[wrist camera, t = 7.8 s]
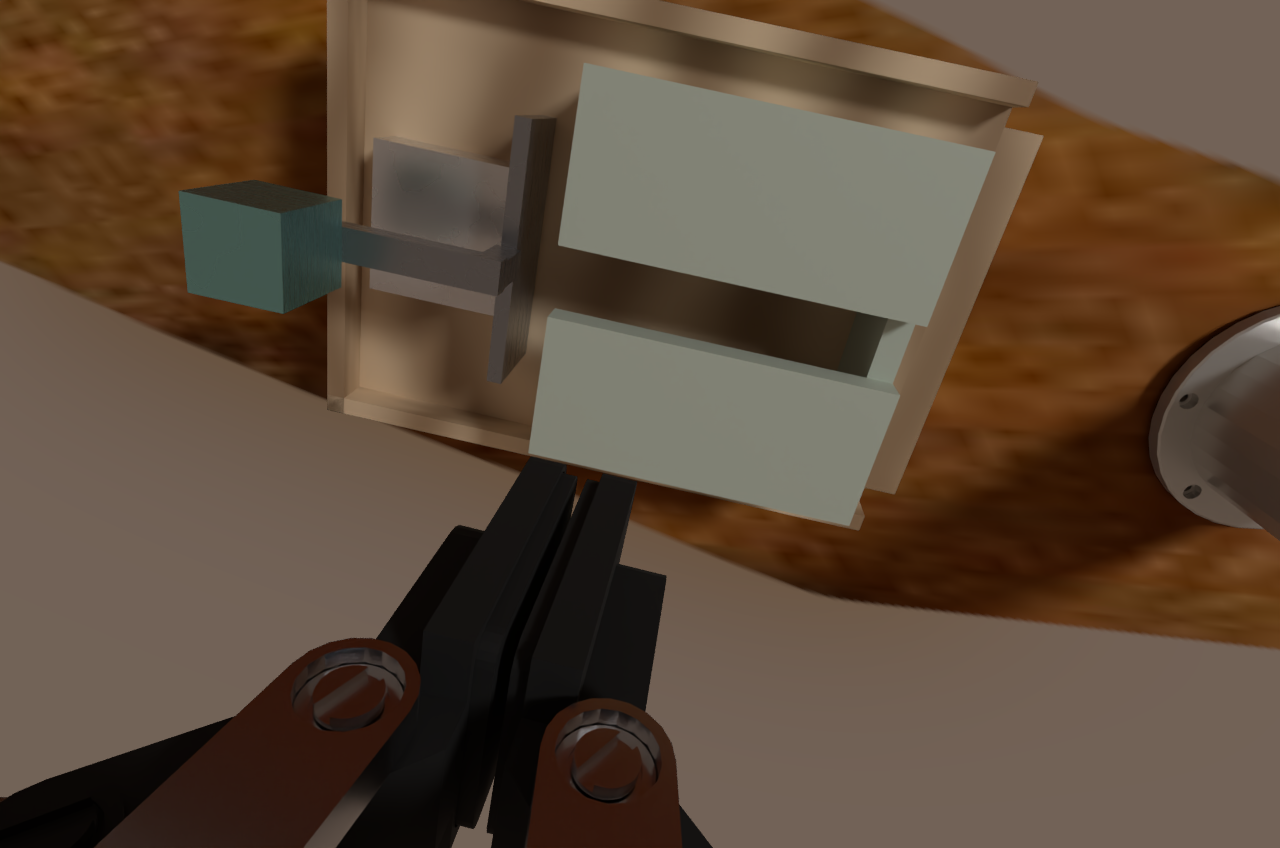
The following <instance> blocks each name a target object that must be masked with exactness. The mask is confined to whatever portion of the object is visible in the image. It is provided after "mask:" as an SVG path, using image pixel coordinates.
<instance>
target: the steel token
mask: <svg viewBox="0 0 1280 848" xmlns="http://www.w3.org/2000/svg"><path fill="white" fill-rule="evenodd" d="M509 166H510V161H507V160H502V159H498V158H493V157H488V156H484V155H479V154H475V153H470V152H466V151H461V150H457V149H452V148H448V147H443V146H438V145H434V144H429V143H425V142H420V141H416V140H411V139H407V138H402V137H398V136H390V137H377V138H373V174H372V212H371V227H373V228H377V229H382V230H386V231H391V232H395V233H400V234H404V235H409V236H413V237H418V238H422V239H427V240H431V241H436V242H440V243H445V244H449V245H454V246H458V247H463V248H467V249H472V250H476V251H481V252H484V251H486V250H487V249H489V248H491V247H492V246H494V245H500V246H501V241H502V231H503V222H504V213H505V203H506V194H507V185H508V175H509ZM370 288H371V289H375V290H380V291H384V292H388V293H393V294H397V295H402V296H406V297H411V298H415V299H420V300H424V301H429V302H433V303H438V304H442V305H446V306H451V307H455V308H460V309H464V310H469V311H473V312H478V313H482V314H487V315H491V316H493V315H494V306H495V297H496V296H492V295H488V294H483V293H479V292H474V291H470V290H465V289H461V288H456V287H452V286H447V285H443V284H438V283H434V282H429V281H425V280H421V279H416V278H412V277H407V276H403V275H398V274H394V273H389V272H385V271H380V270H376V269H371V268H370Z"/></svg>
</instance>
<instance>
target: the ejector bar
mask: <svg viewBox="0 0 1280 848" xmlns="http://www.w3.org/2000/svg"><path fill="white" fill-rule="evenodd" d="M556 120H557V118H554V117H549V116H545V115H515V119H514V129H513V138H512V147H511V157H510V166H509V175H508V185H507V194H506V203H505V213H504V222H503V231H502V241H501V246H500V245H494V246H492V247H491V248H489V249H487V250H486V251H484V252H481V251H476V250H472V249H467V248H463V247H458V246H454V245H449V244H445V243H440V242H436V241H431V240H427V239H422V238H418V237H413V236H409V235H404V234H400V233H395V232H391V231H386V230H382V229H377V228H373V227H368V226H364V225H359V224H355V223H350V222H346V221H342V199H339V198H334V197H330V196H325V195H321V194H316V193H312V192H307V191H303V190H298V189H294V188H289V187H285V186H280V185H275V184H271V183H266V182H262V181H257V180H250V181H243V182H236V183H229V184H222V185H215V186H208V187H201V188H194V189H187V190H181V191H179V199H180V210H181V221H182V233H183V244H184V255H185V266H186V277H187V288H188V293H193V294H197V295H202V296H206V297H210V298H215V299H219V300H224V301H228V302H233V303H237V304H242V305H246V306H250V307H255V308H259V309H264V310H268V311H273V312H277V313H282V314H284V313H287V312H289V311H291V310H293V309H295V308H297V307H300V306H302V305H304V304H306V303H308V302H310V301H313V300H315V299H317V298H319V297H321V296H324V295H326V294H328V293H330V292H332V291H334V290H337V289H339V288H341V276H342V262H344V263H349V264H353V265H358V266H362V267H367V268H371V269H376V270H380V271H385V272H389V273H394V274H398V275H403V276H407V277H412V278H416V279H421V280H425V281H429V282H434V283H438V284H443V285H447V286H452V287H456V288H461V289H465V290H470V291H474V292H479V293H483V294H488V295H492V296H496V297H495V306H494V315H493V325H492V334H491V343H490V353H489V362H488V371H487V381H490V382H494V383H498V384H501V383H502V382H503V381H504V380H505V378H506V377H507V376H508V375H509V373H510V372H511V371H512V370H513V369H514V367H515V366H516V365H517V364H518V362H519V361H520V360H521V359H522V358H523V356H524V355H525V354H526V348H527V341H528V333H529V325H530V318H531V310H532V303H533V295H534V287H535V280H536V272H537V265H538V257H539V249H540V242H541V234H542V226H543V219H544V211H545V204H546V196H547V188H548V181H549V173H550V166H551V158H552V150H553V143H554V135H555V127H556Z"/></svg>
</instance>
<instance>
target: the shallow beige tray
mask: <svg viewBox="0 0 1280 848" xmlns="http://www.w3.org/2000/svg"><path fill="white" fill-rule="evenodd" d="M584 63H588V64H593V65H597V66H602V67H607V68H611V69H616V70H620V71H625V72H630V73H634V74H639V75H643V76H648V77H653V78H657V79H662V80H667V81H671V82H676V83H680V84H685V85H690V86H694V87H699V88H703V89H708V90H713V91H717V92H722V93H726V94H731V95H736V96H740V97H745V98H749V99H754V100H759V101H763V102H768V103H772V104H777V105H782V106H786V107H791V108H795V109H800V110H805V111H809V112H814V113H819V114H823V115H828V116H832V117H837V118H842V119H846V120H851V121H855V122H860V123H865V124H869V125H874V126H878V127H883V128H888V129H892V130H897V131H901V132H906V133H911V134H915V135H920V136H924V137H929V138H934V139H938V140H943V141H948V142H952V143H957V144H961V145H966V146H971V147H975V148H980V149H984V150H989V151H994V152H996V153H995V155H994V158H993V160H992V163H991V165H990V168H989V171H988V173H987V176H986V178H985V181H984V183H983V186H982V188H981V191H980V193H979V196H978V199H977V201H976V204H975V206H974V209H973V211H972V214H971V216H970V219H969V222H968V224H967V227H966V229H965V232H964V234H963V237H962V239H961V242H960V245H959V247H958V250H957V252H956V255H955V257H954V260H953V262H952V265H951V268H950V270H949V273H948V275H947V278H946V280H945V283H944V285H943V288H942V290H941V293H940V296H939V298H938V301H937V303H936V306H935V308H934V311H933V313H932V316H931V319H930V321H929V324H928V326H927V327H924V326H920V325H915V327H914V330H913V332H912V335H911V337H910V340H909V343H908V345H907V348H906V351H905V353H904V356H903V358H902V361H901V364H900V366H899V369H898V371H897V374H896V377H895V379H894V382H893V385H894V386H895V388H896V390H897V391H898V393H899V394H900V398H899V400H898V403H897V405H896V408H895V410H894V413H893V416H892V418H891V421H890V423H889V426H888V428H887V431H886V433H885V436H884V439H883V441H882V444H881V446H880V449H879V451H878V454H877V456H876V459H875V462H874V464H873V467H872V469H871V472H870V474H869V477H868V479H867V482H866V485H865V487H864V488H869V489H873V490H877V491H882V492H886V493H891V494H895V492H896V490H897V487H898V485H899V483H900V480H901V478H902V475H903V473H904V471H905V468H906V466H907V463H908V461H909V459H910V456H911V454H912V451H913V449H914V447H915V444H916V442H917V439H918V437H919V435H920V432H921V430H922V427H923V425H924V423H925V420H926V418H927V415H928V413H929V411H930V408H931V406H932V403H933V401H934V399H935V396H936V394H937V391H938V389H939V387H940V384H941V382H942V379H943V377H944V374H945V372H946V370H947V367H948V365H949V362H950V360H951V358H952V355H953V353H954V350H955V348H956V346H957V343H958V341H959V338H960V336H961V334H962V331H963V329H964V326H965V324H966V322H967V319H968V317H969V314H970V312H971V310H972V307H973V305H974V302H975V300H976V298H977V295H978V293H979V290H980V288H981V286H982V283H983V281H984V278H985V276H986V274H987V271H988V269H989V266H990V264H991V261H992V259H993V257H994V254H995V252H996V249H997V247H998V245H999V242H1000V240H1001V237H1002V235H1003V233H1004V230H1005V228H1006V225H1007V223H1008V221H1009V218H1010V216H1011V213H1012V211H1013V209H1014V206H1015V204H1016V201H1017V199H1018V197H1019V194H1020V192H1021V189H1022V187H1023V185H1024V182H1025V180H1026V177H1027V175H1028V173H1029V170H1030V168H1031V165H1032V163H1033V161H1034V158H1035V156H1036V153H1037V151H1038V148H1039V146H1040V144H1041V141H1042V139H1043V136H1042V135H1037V134H1033V133H1028V132H1023V131H1019V130H1014V129H1010V128H1005V125H1006V122H1007V119H1008V117H1009V114H1010V112H1011V109H1012V107H1029V105H1030V102H1031V100H1032V97H1033V95H1034V92H1035V90H1036V87H1037V84H1038V82H1036V81H1031V80H1027V79H1022V78H1017V77H1013V76H1008V75H1003V74H999V73H994V72H990V71H985V70H980V69H976V68H971V67H966V66H962V65H957V64H952V63H948V62H943V61H938V60H934V59H929V58H924V57H920V56H915V55H910V54H906V53H901V52H897V51H892V50H887V49H883V48H878V47H873V46H869V45H864V44H859V43H855V42H850V41H845V40H841V39H836V38H831V37H827V36H822V35H817V34H813V33H808V32H804V31H799V30H794V29H790V28H785V27H780V26H776V25H771V24H766V23H762V22H757V21H752V20H748V19H743V18H738V17H734V16H729V15H725V14H720V13H715V12H711V11H706V10H701V9H697V8H692V7H687V6H683V5H678V4H673V3H669V2H664V1H659V0H327V196H330V197H334V198H339V199H342V221H346V222H350V223H355V224H359V225H364V226H368V227H371V212H372V174H373V138H377V137H390V136H398V137H402V138H407V139H411V140H416V141H420V142H425V143H429V144H434V145H438V146H443V147H448V148H452V149H457V150H461V151H466V152H470V153H475V154H479V155H484V156H488V157H493V158H498V159H502V160H507V161H510V157H511V147H512V138H513V129H514V119H515V115H545V116H549V117H554V118H557V120H556V127H555V135H554V143H553V150H552V158H551V166H550V173H549V181H548V188H547V196H546V204H545V211H544V219H543V226H542V234H541V242H540V249H539V257H538V265H537V272H536V280H535V287H534V295H533V303H532V310H531V318H530V325H529V333H528V341H527V348H526V354H525V355H524V356H523V358H522V359H521V360H520V361H519V362H518V364H517V365H516V366H515V367H514V369H513V370H512V371H511V372H510V373H509V375H508V376H507V377H506V378H505V380H504V381H503V382H502V383H501V384H498V383H494V382H490V381H487V371H488V362H489V353H490V343H491V334H492V325H493V316H491V315H487V314H482V313H478V312H473V311H469V310H464V309H460V308H455V307H451V306H446V305H442V304H438V303H433V302H429V301H424V300H420V299H415V298H411V297H406V296H402V295H397V294H393V293H388V292H384V291H380V290H375V289H371V288H370V268H367V267H362V266H358V265H353V264H349V263H344V262H342V276H341V288H339V289H337V290H334V291H332V292H330V293H328V294H327V409H328V410H330V411H335V412H339V413H344V414H348V415H352V416H357V417H361V418H365V419H370V420H374V421H379V422H383V423H387V424H392V425H396V426H401V427H405V428H409V429H414V430H418V431H423V432H427V433H431V434H436V435H440V436H445V437H449V438H453V439H458V440H462V441H467V442H471V443H475V444H480V445H484V446H489V447H493V448H497V449H502V450H506V451H511V452H515V453H519V454H524V455H528V456H533V457H537V458H541V459H546V460H550V461H555V462H559V463H563V464H568V465H572V466H577V467H581V468H585V469H590V470H594V471H599V472H603V473H607V474H612V475H616V476H621V477H625V478H629V479H634V480H638V481H643V482H647V483H651V484H656V485H660V486H665V487H669V488H673V489H678V490H682V491H687V492H691V493H695V494H700V495H704V496H709V497H713V498H717V499H722V500H726V501H731V502H735V503H739V504H744V505H748V506H753V507H757V508H761V509H766V510H770V511H775V512H779V513H783V514H788V515H792V516H797V517H801V518H805V519H810V520H814V521H819V522H823V523H827V524H832V525H836V526H841V527H845V528H849V529H854V530H858V531H859V529H860V527H861V524H862V522H863V519H864V517H865V516H864V513H863V510H862V507H861V505H860V502H858V505H857V508H856V510H855V513H854V515H853V518H852V520H851V523H850V525H849V526H846V525H842V524H837V523H833V522H829V521H824V520H820V519H815V518H811V517H807V516H802V515H798V514H793V513H789V512H785V511H780V510H776V509H771V508H767V507H763V506H758V505H754V504H749V503H745V502H741V501H736V500H732V499H727V498H723V497H719V496H714V495H710V494H705V493H701V492H697V491H692V490H688V489H683V488H679V487H675V486H670V485H666V484H661V483H657V482H653V481H648V480H644V479H639V478H635V477H631V476H626V475H622V474H617V473H613V472H609V471H604V470H600V469H595V468H591V467H586V466H582V465H578V464H573V463H569V462H564V461H560V460H556V459H551V458H547V457H542V456H538V455H534V454H529V453H528V451H529V444H530V437H531V430H532V423H533V416H534V409H535V402H536V395H537V388H538V381H539V374H540V367H541V360H542V353H543V346H544V339H545V332H546V325H547V318H548V316H549V315H550V313H551V312H552V311H553V310H554V309H555V308H556V309H561V310H565V311H570V312H574V313H579V314H583V315H588V316H592V317H597V318H601V319H606V320H610V321H615V322H619V323H624V324H628V325H632V326H637V327H641V328H646V329H650V330H655V331H659V332H664V333H668V334H673V335H677V336H682V337H686V338H691V339H695V340H700V341H704V342H709V343H713V344H718V345H722V346H726V347H731V348H735V349H740V350H744V351H749V352H753V353H758V354H762V355H767V356H771V357H776V358H780V359H785V360H789V361H794V362H798V363H803V364H807V365H812V366H816V367H821V368H825V369H829V370H834V371H837V369H838V366H839V363H840V360H841V357H842V354H843V351H844V348H845V346H846V343H847V340H848V337H849V334H850V331H851V328H852V325H853V322H854V319H855V316H856V313H857V311H852V310H848V309H843V308H839V307H834V306H830V305H825V304H821V303H816V302H812V301H807V300H803V299H798V298H793V297H789V296H784V295H780V294H775V293H771V292H766V291H762V290H757V289H753V288H748V287H744V286H739V285H735V284H730V283H726V282H721V281H717V280H712V279H708V278H703V277H699V276H694V275H690V274H685V273H681V272H676V271H672V270H667V269H663V268H658V267H654V266H649V265H645V264H640V263H636V262H631V261H627V260H622V259H618V258H613V257H609V256H604V255H600V254H595V253H591V252H586V251H582V250H577V249H573V248H568V247H564V246H559V245H558V240H559V233H560V226H561V219H562V212H563V205H564V198H565V191H566V184H567V177H568V170H569V163H570V156H571V149H572V142H573V135H574V128H575V121H576V114H577V107H578V100H579V93H580V86H581V79H582V72H583V65H584Z"/></svg>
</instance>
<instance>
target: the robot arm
mask: <svg viewBox="0 0 1280 848" xmlns="http://www.w3.org/2000/svg"><path fill="white" fill-rule="evenodd" d="M1149 453H1150V459H1151V462H1152V465H1153V468H1154V471H1155V474H1156V476H1157V477H1158V479H1159V480H1160V482H1161V483H1162V485H1163V486H1164V488H1165V489H1166V490H1167V491H1168V492H1169V493H1170V494H1171V495H1172V496H1173V497H1174V498H1175V499H1176V500H1177V501H1179V502H1180V503H1181V504H1182V505H1184V506H1185V507H1186V508H1188V509H1189V510H1191V511H1192V512H1193V513H1195V514H1196V515H1198V516H1201V517H1203V518H1205V519H1208V520H1210V521H1212V522H1214V523H1218V524H1223V525H1227V526H1231V527H1236V528H1250V529H1265V530H1266V531H1267V532H1269V533H1270V534H1271V535H1273V536H1274V537H1275V538H1277V539H1278V540H1279V541H1280V306H1279V307H1275V308H1272V309H1268V310H1265V311H1262V312H1260V313H1258V314H1255V315H1253V316H1251V317H1249V318H1247V319H1244V320H1242V321H1240V322H1238V323H1236V324H1234V325H1233V326H1231V327H1229V328H1228V329H1226V330H1225V331H1223V332H1221V333H1220V334H1218V335H1217V336H1215V337H1213V338H1212V339H1211V340H1209V341H1208V342H1207V343H1206V344H1205V345H1204V346H1202V347H1201V348H1200V349H1199V350H1198V351H1196V352H1195V353H1194V354H1193V355H1192V356H1191V357H1190V358H1189V359H1188V360H1187V361H1186V362H1185V363H1184V364H1183V366H1182V367H1181V368H1180V369H1179V370H1178V371H1177V372H1176V373H1175V375H1174V376H1173V377H1172V379H1171V380H1170V382H1169V384H1168V385H1167V387H1166V388H1165V390H1164V392H1163V393H1162V395H1161V396H1160V399H1159V401H1158V404H1157V406H1156V409H1155V411H1154V414H1153V416H1152V420H1151V426H1150V432H1149ZM566 468H567V467H566V464H562V463H558V462H554V461H550V460H545V459H541V458H537V457H530V459H529V460H528V462H527V463H526V465H525V467H524V468H523V470H522V471H521V473H520V475H519V476H518V478H517V480H516V481H515V483H514V484H513V486H512V488H511V489H510V491H509V492H508V494H507V496H506V497H505V499H504V501H503V502H502V504H501V505H500V507H499V509H498V510H497V512H496V514H495V515H494V517H493V518H492V520H491V522H490V523H489V525H488V526H487V528H486V530H485V531H482V530H478V529H474V528H470V527H465V526H461V525H458V526H456V527H455V528H454V529H453V530H452V531H451V532H450V534H449V535H448V537H447V538H446V539H445V541H444V542H443V544H442V545H441V547H440V548H439V549H438V551H437V552H436V554H435V555H434V557H433V558H432V560H431V561H430V562H429V564H428V565H427V567H426V568H425V570H424V571H423V572H422V574H421V576H420V577H419V578H418V580H417V581H416V582H415V584H414V586H413V587H412V588H411V590H410V591H409V592H408V594H407V595H406V597H405V598H404V600H403V601H402V602H401V604H400V606H399V607H398V608H397V610H396V611H395V612H394V614H393V615H392V617H391V618H390V620H389V621H388V622H387V624H386V625H385V627H384V628H383V630H382V631H381V633H380V634H379V635H378V637H377V638H376V639H373V638H348V639H344V640H338V641H333V642H329V643H326V644H324V645H322V646H319V647H317V648H315V649H312V650H310V651H308V652H307V653H306V654H304V655H303V656H302V657H300V658H299V659H297V660H296V661H295V662H293V663H292V664H291V665H290V666H289V667H287V668H286V669H285V670H284V671H283V672H282V673H281V674H280V675H279V676H278V677H277V678H276V679H275V680H273V681H272V682H271V683H270V684H269V685H268V686H267V687H266V688H265V689H264V690H263V691H262V692H261V693H260V694H259V695H257V696H256V697H255V698H254V699H253V700H252V701H251V702H250V703H249V704H248V705H247V706H246V707H244V708H243V709H242V710H241V711H240V712H239V713H238V714H237V715H236V716H234V717H231V718H228V719H225V720H222V721H219V722H216V723H213V724H210V725H207V726H204V727H201V728H198V729H195V730H192V731H189V732H186V733H183V734H181V735H178V736H174V737H171V738H168V739H165V740H162V741H160V742H157V743H154V744H151V745H148V746H145V747H142V748H139V749H136V750H133V751H130V752H127V753H124V754H121V755H118V756H115V757H112V758H109V759H106V760H103V761H100V762H97V763H94V764H92V765H88V766H85V767H82V768H79V769H76V770H74V771H70V772H67V773H64V774H61V775H58V776H55V777H52V778H49V779H46V780H44V781H42V782H39V783H37V784H35V785H32V786H30V787H28V788H25V789H23V790H21V791H19V792H16V793H14V794H12V795H11V796H9V797H0V848H451V847H452V844H453V842H454V839H455V837H456V834H457V832H458V829H459V827H460V826H464V827H467V828H471V829H474V828H475V826H476V824H477V822H478V819H479V817H480V814H481V811H482V809H483V806H484V803H485V801H486V798H487V795H488V793H489V790H490V787H491V785H492V782H493V779H494V785H493V792H492V798H491V805H490V811H489V817H488V824H487V833H490V834H493V839H492V846H491V848H713V847H712V846H711V845H710V844H709V842H708V841H707V840H706V838H705V837H704V836H703V835H702V833H701V832H700V831H699V829H698V828H697V827H696V826H695V824H694V823H693V822H692V821H691V819H690V818H689V816H688V815H687V814H686V813H685V811H684V810H683V809H682V807H681V806H680V805H679V795H678V780H677V766H676V759H675V755H674V751H673V746H672V743H671V741H670V739H669V738H668V736H667V734H666V733H665V731H664V729H663V728H662V726H661V725H659V724H658V723H657V722H656V721H655V720H654V719H653V718H652V717H651V716H650V715H649V714H648V713H646V712H645V710H646V704H647V697H648V691H649V684H650V679H651V671H652V666H653V660H654V653H655V647H656V641H657V635H658V628H659V622H660V616H661V610H662V603H663V597H664V591H665V585H666V575H662V574H657V573H653V572H649V571H645V570H641V569H637V568H633V567H629V566H625V565H621V564H619V562H620V557H621V553H622V548H623V544H624V539H625V535H626V531H627V526H628V522H629V517H630V513H631V508H632V504H633V499H634V495H635V490H636V486H637V481H633V480H629V479H625V478H620V477H616V476H612V475H608V474H603V475H602V477H601V480H600V482H597V481H593V480H589V479H587V481H586V483H585V486H584V488H583V490H582V493H581V495H580V498H579V500H578V502H577V505H576V507H575V510H574V512H573V514H572V516H571V513H572V508H573V502H574V497H575V491H576V485H577V476H572V475H568V474H566ZM494 776H495V778H494Z"/></svg>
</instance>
